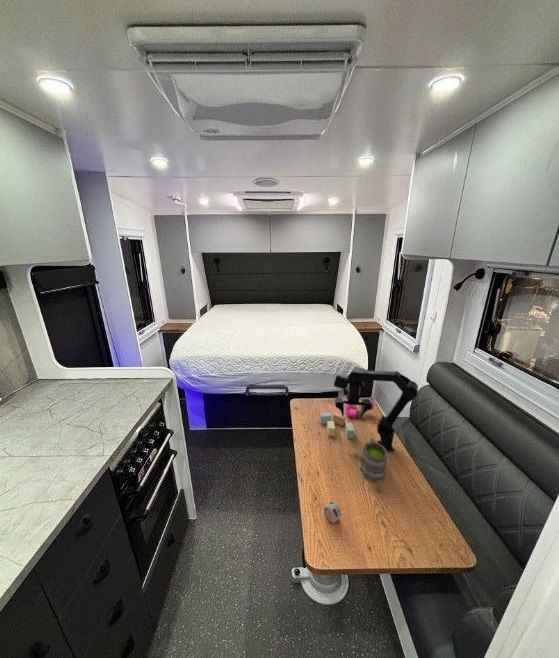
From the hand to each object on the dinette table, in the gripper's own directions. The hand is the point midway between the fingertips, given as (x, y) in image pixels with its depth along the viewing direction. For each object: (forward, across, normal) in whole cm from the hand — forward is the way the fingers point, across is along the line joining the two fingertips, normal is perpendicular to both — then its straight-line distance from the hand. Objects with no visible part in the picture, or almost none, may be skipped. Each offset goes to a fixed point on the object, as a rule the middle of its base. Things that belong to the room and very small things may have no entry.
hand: (351, 416), depth 138 cm
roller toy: (+11, +15, +47) cm, 51 cm away
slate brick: (+11, +12, -10) cm, 19 cm away
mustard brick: (+11, +10, 0) cm, 15 cm away
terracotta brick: (+11, +4, -10) cm, 15 cm away
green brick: (+11, 0, 0) cm, 11 cm away
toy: (+11, -9, -18) cm, 24 cm away
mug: (+11, -6, +22) cm, 26 cm away
